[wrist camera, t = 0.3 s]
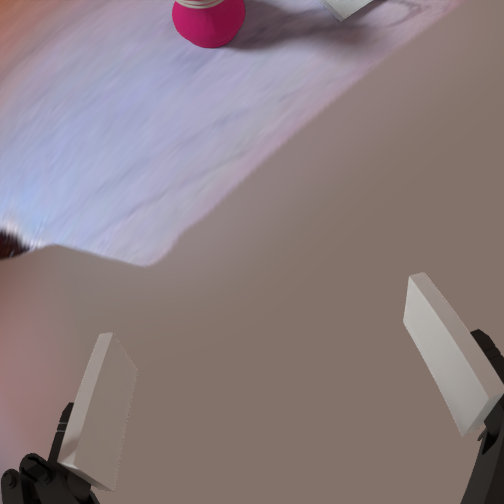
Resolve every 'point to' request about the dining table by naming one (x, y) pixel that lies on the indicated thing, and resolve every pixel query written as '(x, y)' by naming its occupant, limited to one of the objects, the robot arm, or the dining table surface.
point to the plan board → (343, 7)
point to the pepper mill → (208, 20)
